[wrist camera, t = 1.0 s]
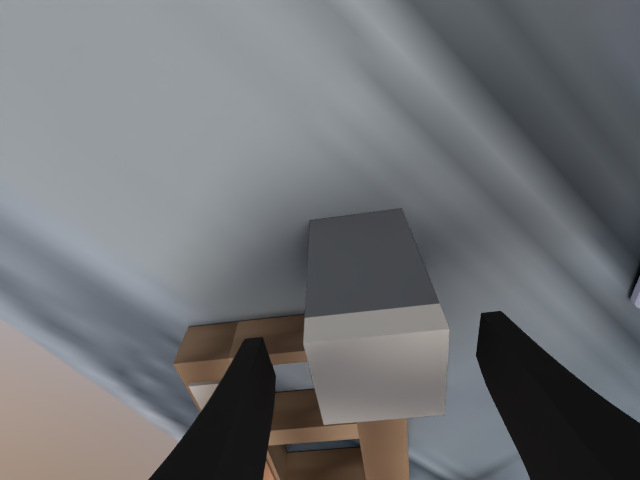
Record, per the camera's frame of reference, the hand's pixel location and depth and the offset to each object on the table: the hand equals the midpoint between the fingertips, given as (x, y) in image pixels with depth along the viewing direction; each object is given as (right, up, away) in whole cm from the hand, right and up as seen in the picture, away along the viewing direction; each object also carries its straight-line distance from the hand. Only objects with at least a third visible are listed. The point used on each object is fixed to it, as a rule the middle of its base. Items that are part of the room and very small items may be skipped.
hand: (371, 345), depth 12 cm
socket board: (-2, -6, +11) cm, 12 cm away
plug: (0, +3, +5) cm, 6 cm away
